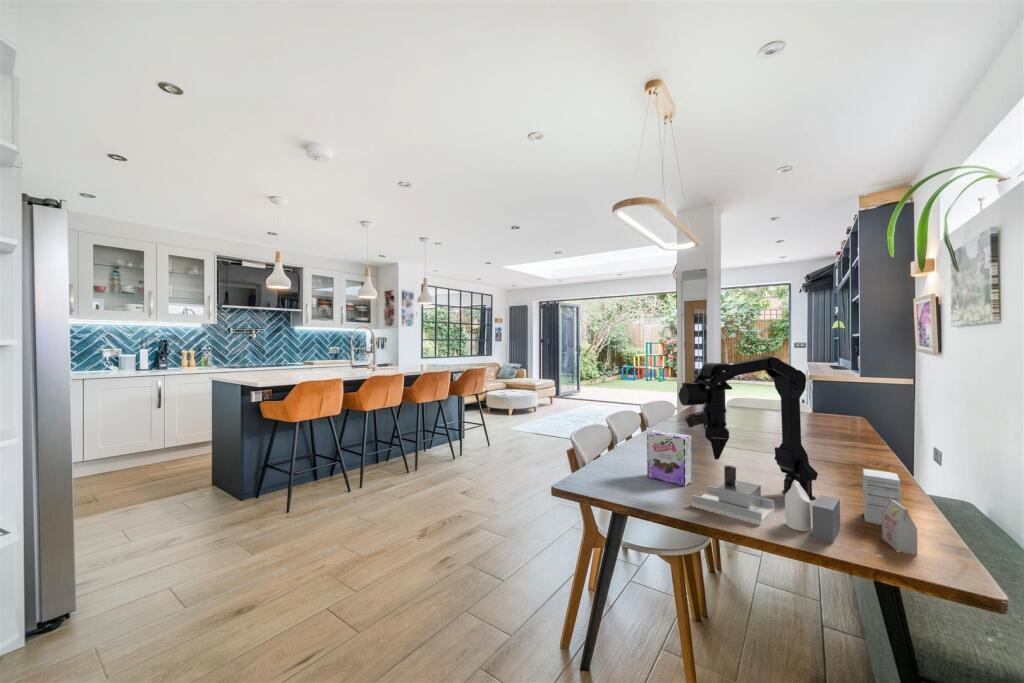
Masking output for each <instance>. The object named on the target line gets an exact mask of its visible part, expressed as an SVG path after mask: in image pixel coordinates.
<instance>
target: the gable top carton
mask: <svg viewBox="0 0 1024 683" xmlns="http://www.w3.org/2000/svg"><path fill="white" fill-rule="evenodd" d="M881 540H882V541H884V542H885V541H886V542H887V543H888V544H889V545H890V546H889V545H888V544H887V543H886V542H885V543H886V544H887V545H888V546H889V547H891V546H892V547H893V548H894V549H895V550H896V551H899V552H898V553H900V552H906V553H905V554H908V553H914V554H913V555H916V554H917V555H918V527H917V526H916V525H915V523H914V521H913V520H912V518H911V516H910V514H909V512H908V509H907V508H905V507H904V506H903V505H900V504H898V503H897V502H895V501H894V500H891V499H889V503H888V505H887V507H886V508H885V510H884V512H883V513H882V525H881ZM892 547H891V548H892ZM893 548H892V549H893ZM894 549H893V550H894ZM895 550H894V551H895ZM896 551H895V552H896Z"/></svg>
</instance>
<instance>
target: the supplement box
mask: <svg viewBox="0 0 1024 683" xmlns="http://www.w3.org/2000/svg"><path fill="white" fill-rule="evenodd" d="M901 493H902V492H901V479H900V477H899V475H898V473H895V472H891V471H883V470H875V469H868V468H862V499H863V500H862V502H863V508H862V509H863V515H864V516H863V517H864V522H866V523H871V524H875V525H881V526H882V513H883V512H884V510H885V508H886V507H887V505H888V503H889V499H891V500H894V501H895V502H897V503H898V504H900V505H901V503H902V501H901V500H902V499H901V498H902V496H901ZM901 506H902V505H901Z"/></svg>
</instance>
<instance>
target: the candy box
mask: <svg viewBox="0 0 1024 683" xmlns="http://www.w3.org/2000/svg"><path fill="white" fill-rule="evenodd" d="M646 435H647V436H646V438H647V439H646V442H647V444H646V447H647V448H646V451H647V452H646V457H647V460H646V461H647V462H646V464H647V465H646V466H647V467H646V468H647V469H646V470H647V471H646V472H647V474H646V475H647V478H648V477H649V479H652V478H654V479H653V480H657V479H658V480H657V481H661V480H662V481H661V482H665V481H666V483H669V482H671V483H670V484H673V483H675V484H674V485H677V484H679V485H678V486H681V485H683V486H682V487H686V485H687V484H688V485H690V484H692V436H691V435H688V434H681V433H675V432H674V433H673V432H667V431H661V430H656V429H652V430H650V431H648V432H647V433H646ZM689 483H690V484H689ZM688 485H687V486H688Z"/></svg>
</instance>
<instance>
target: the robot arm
mask: <svg viewBox="0 0 1024 683" xmlns="http://www.w3.org/2000/svg"><path fill="white" fill-rule="evenodd" d="M700 369H701V371H700V372H699V374H698V375H697V377H696V378H695V380H694V381H693V382H682V383H681V384H682V386H681V387H680V389H679V391H678V400H679V402H680V404H681V405H682V406H699V405H700V406H702V405H704V406H703V410H701V411H698V412H693V413H688V414H686V415H685V416H684V420H685V422H686V425H687V426H688V428H689V429H690V428H693V427H695V426H699V425H702V424H703V429H704V436H705V439H707V440H708V441H709V442H710V443H711V448H712V454H713V458H714V460H720V457H721V456H722V453H723V451H724V449H725V446H726V445H727V443H728V441H729V439H730V431H729V429H728V428H727V421H726V419H727V418H726V415H727V414H726V413H727V408H726V390H732V389H733V386H731V385H730V384H729V383H728V382H727V381H731V380H732V379H734V378H735V377H738V376H741V375H746V374H751V373H756V372H763V371H765V373H766V374H767V376H769V377H770V378H771V379H772V380H773V383H774V387H775V390H776V391H777V393H778V395H779V397H780V409H781V410H780V411H781V412H780V413H781V415H780V417H781V438H782V439H781V443H780V445H779V446H778V447H776V446H775V447H774V454H775V455H774V460H775V461H776V464H777V465H778V466H779V470H780V471H781V473H784V476H785V477H784V478H785V479H784V480H783V490H782V489H781V490H782V493H783V494H785V495H786V493H787V492H788V491H789V489H790V488H791V485H792V482H793V481H794V480H796V481H798V482H799V484H800V485H801V487H802V488H803V489H804V491H805V492H806V493H807V495H808V497H809V499H810V500H817V498H816V496H814V495H813V481H817V478H818V474H819V473H818V472H817V471H816V470H815V469H814V467H812V466H811V464H810V461H809V457H808V453H807V451H806V450H805V448H804V446H803V445H802V444H803V443H802V428H801V427H802V425H801V397H802V395H803V394H804V393H805V391H806V385H807V375H806V373H804V372H803V371H802V370H800V369H797V368H796V367H794V366H792V365H790V364H788V363H786V362H784V361H782V360H781V359H780V358H778V357H777V356H774V355H773V356H772V355H770V356H769V355H763V356H760V357H757V358H751V359H745V360H741V361H734V362H725V363H724V362H707V363H705V364H703V365H702V367H701V368H700Z"/></svg>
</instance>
